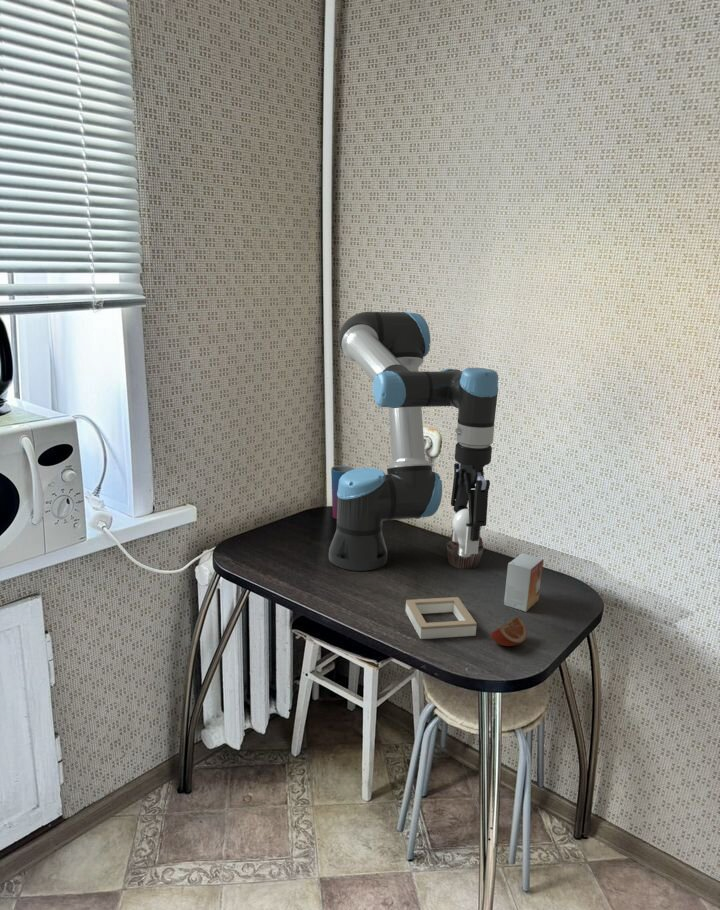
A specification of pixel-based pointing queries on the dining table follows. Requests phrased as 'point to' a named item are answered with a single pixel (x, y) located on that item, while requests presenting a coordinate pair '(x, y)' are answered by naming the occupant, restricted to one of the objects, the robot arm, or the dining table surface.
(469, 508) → the robot arm
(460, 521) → the lightbulb
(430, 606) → the square frame
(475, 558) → the cupcake
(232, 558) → the dining table surface
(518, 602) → the small box
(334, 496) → the cup
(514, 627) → the fruit slice
